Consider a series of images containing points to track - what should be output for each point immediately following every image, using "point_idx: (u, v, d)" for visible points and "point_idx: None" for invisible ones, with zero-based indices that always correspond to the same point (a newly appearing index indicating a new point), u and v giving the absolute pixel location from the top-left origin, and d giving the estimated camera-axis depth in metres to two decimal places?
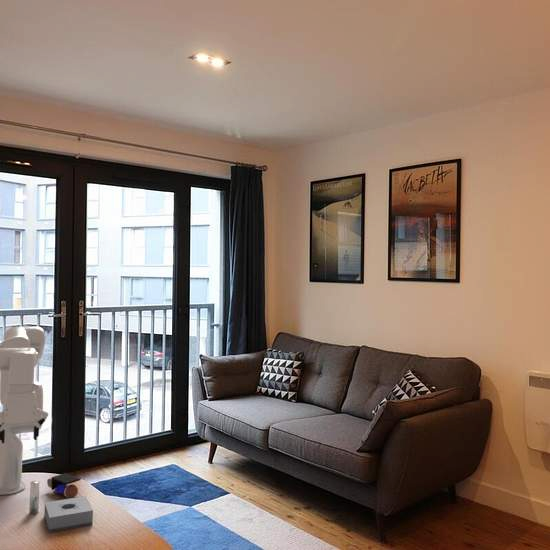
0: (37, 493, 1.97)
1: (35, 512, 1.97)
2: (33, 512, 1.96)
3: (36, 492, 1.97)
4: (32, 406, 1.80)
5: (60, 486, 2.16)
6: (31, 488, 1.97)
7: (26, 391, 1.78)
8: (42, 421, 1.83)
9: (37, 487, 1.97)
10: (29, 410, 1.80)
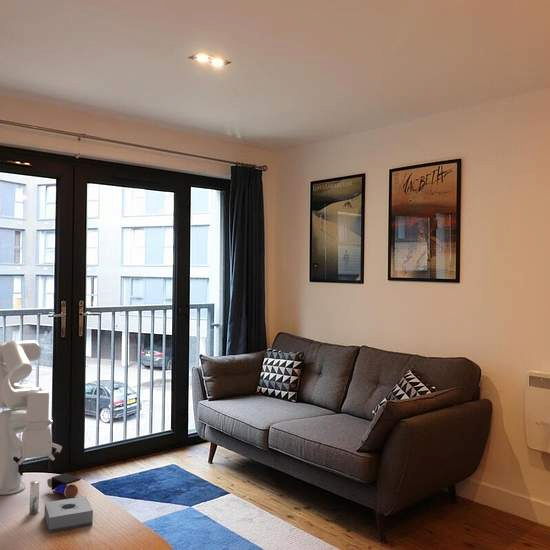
0: (37, 493, 1.97)
1: (35, 512, 1.97)
2: (33, 512, 1.96)
3: (36, 492, 1.97)
4: (47, 441, 1.98)
5: (60, 486, 2.16)
6: (31, 488, 1.97)
7: (42, 427, 1.96)
8: (56, 454, 2.00)
9: (37, 487, 1.97)
10: (45, 444, 1.97)
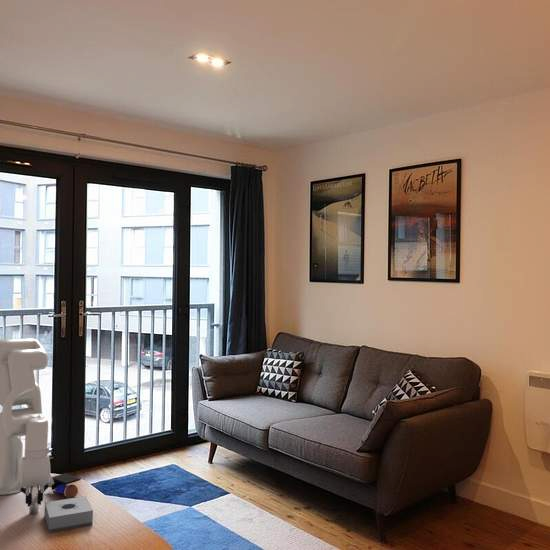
0: (37, 493, 1.97)
1: (35, 512, 1.97)
2: (33, 512, 1.96)
3: (36, 492, 1.97)
4: (46, 469, 1.98)
5: (60, 486, 2.16)
6: (31, 488, 1.97)
7: (41, 456, 1.96)
8: (46, 487, 1.99)
9: (37, 487, 1.97)
10: (43, 473, 1.97)
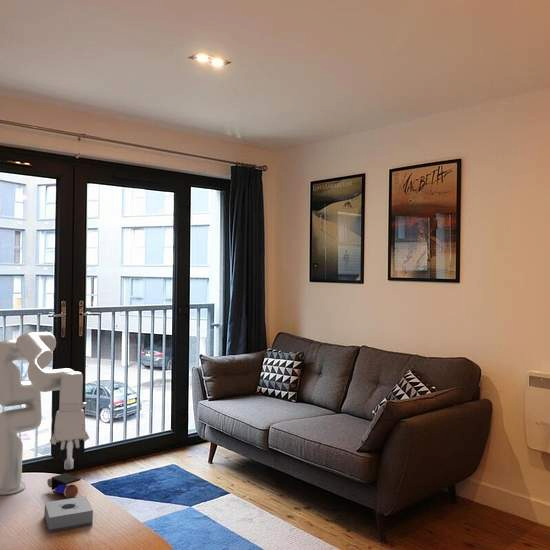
0: (72, 447, 1.92)
1: (70, 467, 1.91)
2: (68, 467, 1.91)
3: (71, 447, 1.92)
4: (81, 423, 1.93)
5: (60, 486, 2.16)
6: (66, 442, 1.91)
7: (76, 409, 1.91)
8: (81, 442, 1.94)
9: (72, 441, 1.92)
10: (78, 427, 1.92)
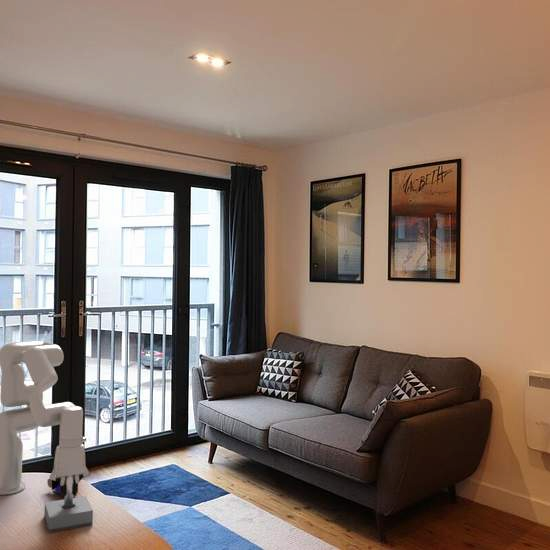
0: (72, 483, 1.92)
1: (70, 503, 1.91)
2: (68, 503, 1.91)
3: (71, 482, 1.91)
4: (81, 459, 1.92)
5: None
6: (66, 478, 1.91)
7: (76, 445, 1.90)
8: (81, 477, 1.93)
9: (72, 477, 1.92)
10: (78, 463, 1.92)
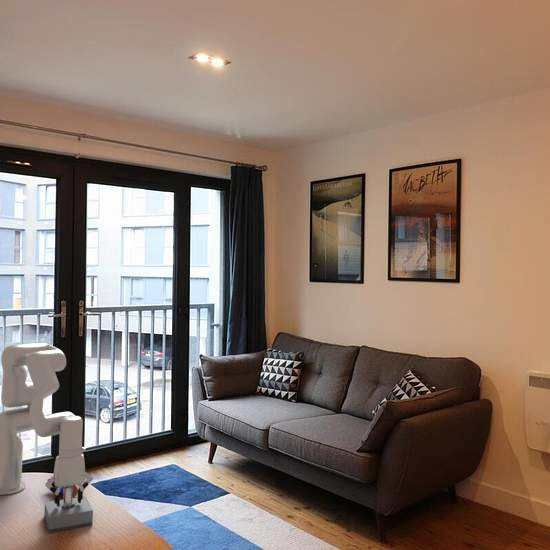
0: (71, 497, 1.92)
1: None
2: None
3: (70, 497, 1.91)
4: (81, 469, 1.92)
5: None
6: (64, 492, 1.91)
7: (76, 455, 1.90)
8: (86, 485, 1.94)
9: (70, 491, 1.91)
10: (78, 473, 1.92)
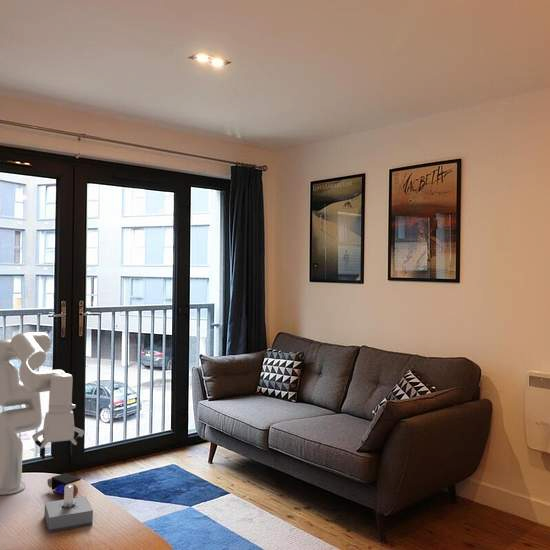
0: (71, 497, 1.92)
1: None
2: None
3: (70, 497, 1.91)
4: (70, 425, 1.94)
5: (60, 486, 2.16)
6: (65, 492, 1.91)
7: (65, 411, 1.92)
8: (78, 439, 1.97)
9: (71, 491, 1.92)
10: (67, 429, 1.93)
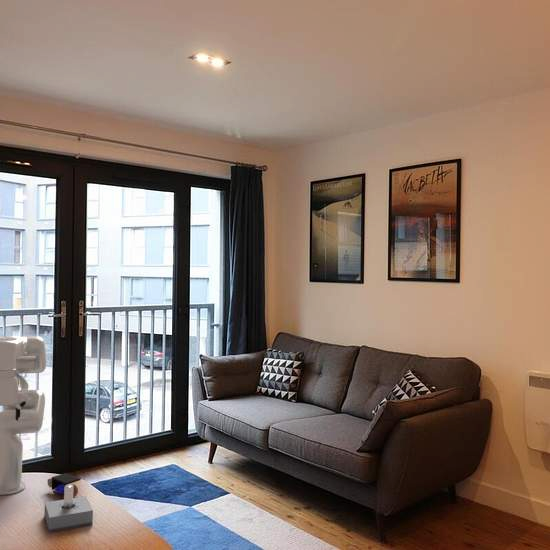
0: (71, 497, 1.92)
1: None
2: None
3: (70, 497, 1.91)
4: (14, 390, 2.00)
5: (60, 486, 2.16)
6: (65, 492, 1.91)
7: (8, 376, 1.98)
8: (23, 403, 2.03)
9: (71, 491, 1.92)
10: (11, 393, 2.00)
